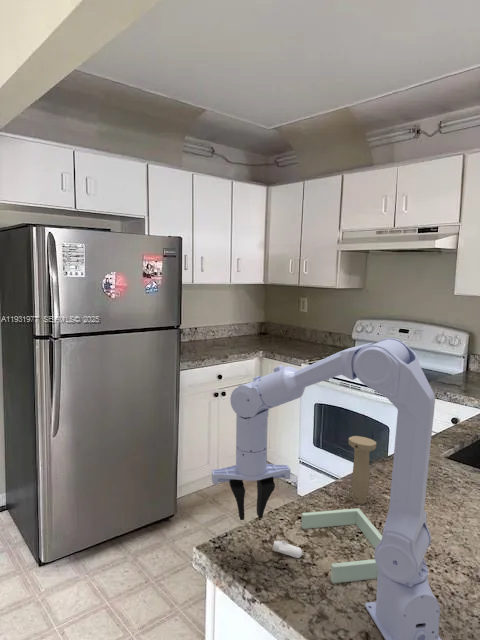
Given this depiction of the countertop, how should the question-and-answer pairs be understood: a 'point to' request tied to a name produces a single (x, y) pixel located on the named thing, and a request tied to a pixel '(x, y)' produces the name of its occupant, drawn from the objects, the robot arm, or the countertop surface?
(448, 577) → the countertop surface
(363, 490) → the handle
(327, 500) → the countertop surface
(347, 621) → the countertop surface
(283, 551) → the small white plastic part
